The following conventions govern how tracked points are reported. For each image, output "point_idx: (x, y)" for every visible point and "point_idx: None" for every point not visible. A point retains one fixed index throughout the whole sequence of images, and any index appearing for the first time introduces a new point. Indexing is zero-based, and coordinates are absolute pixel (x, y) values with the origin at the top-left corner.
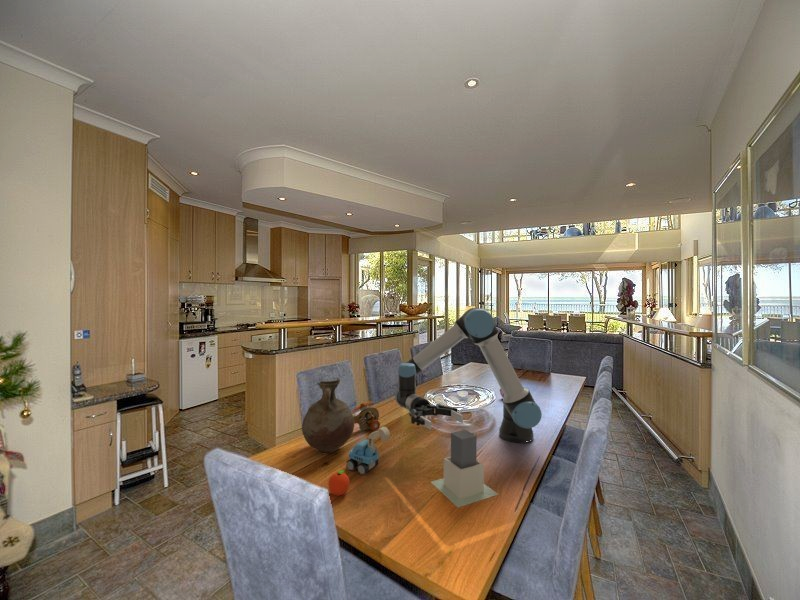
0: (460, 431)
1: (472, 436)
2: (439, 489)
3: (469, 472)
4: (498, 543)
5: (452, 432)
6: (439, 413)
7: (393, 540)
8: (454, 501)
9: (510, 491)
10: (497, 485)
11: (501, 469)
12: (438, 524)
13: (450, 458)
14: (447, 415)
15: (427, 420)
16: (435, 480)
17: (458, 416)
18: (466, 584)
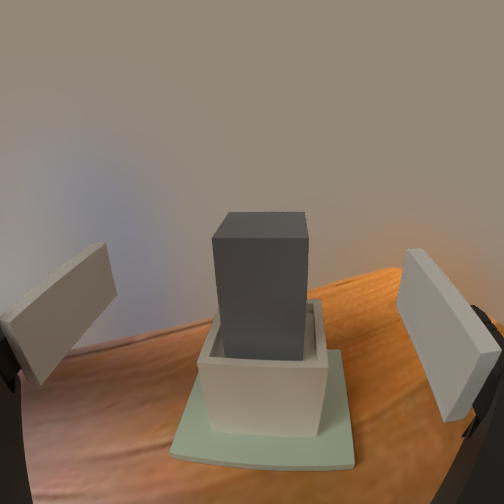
0: (251, 235)
1: (246, 212)
2: (347, 418)
3: None
4: (318, 291)
5: (299, 237)
6: (24, 502)
7: None
8: (335, 365)
9: (162, 351)
10: (160, 377)
11: (68, 408)
12: (399, 339)
13: (296, 364)
14: (20, 420)
15: (434, 265)
16: (331, 465)
17: (89, 278)
18: (396, 272)
